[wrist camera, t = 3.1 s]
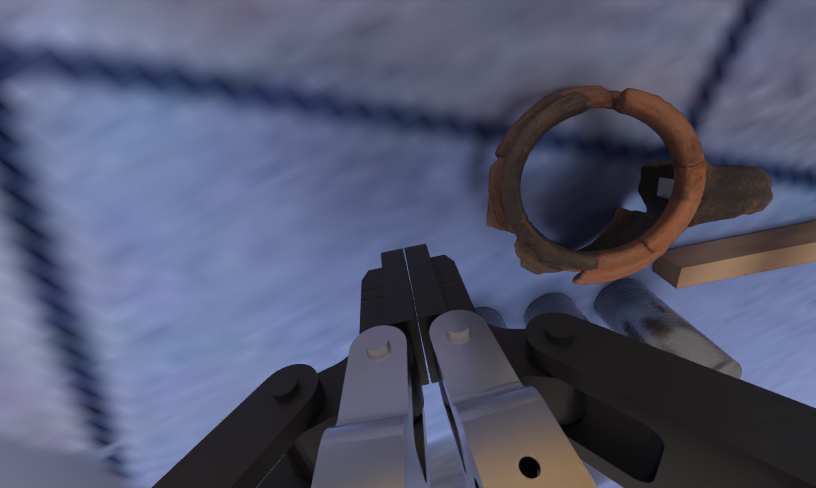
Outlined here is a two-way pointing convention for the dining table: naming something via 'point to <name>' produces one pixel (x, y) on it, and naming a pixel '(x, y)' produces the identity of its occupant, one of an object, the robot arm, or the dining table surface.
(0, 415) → the dining table surface
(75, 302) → the dining table surface
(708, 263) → the walnut frame
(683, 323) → the metal posts
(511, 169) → the pottery mug
